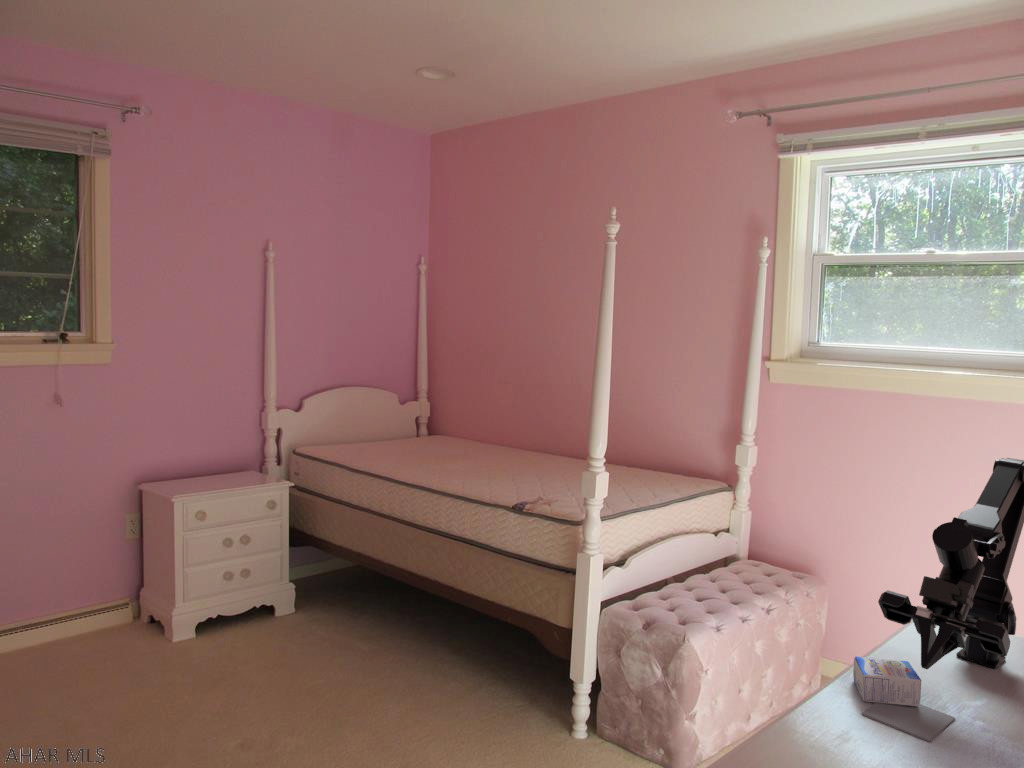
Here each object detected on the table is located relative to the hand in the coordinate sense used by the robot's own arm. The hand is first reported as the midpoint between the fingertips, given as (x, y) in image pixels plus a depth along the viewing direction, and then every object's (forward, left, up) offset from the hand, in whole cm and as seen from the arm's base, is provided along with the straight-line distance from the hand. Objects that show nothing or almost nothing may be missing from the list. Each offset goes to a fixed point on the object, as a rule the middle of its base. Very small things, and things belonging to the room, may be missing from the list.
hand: (924, 667), depth 130 cm
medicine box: (-2, -2, -4) cm, 5 cm away
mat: (+4, 0, -7) cm, 8 cm away
